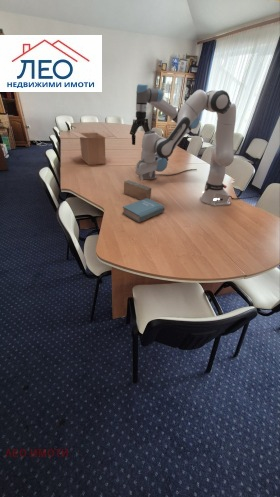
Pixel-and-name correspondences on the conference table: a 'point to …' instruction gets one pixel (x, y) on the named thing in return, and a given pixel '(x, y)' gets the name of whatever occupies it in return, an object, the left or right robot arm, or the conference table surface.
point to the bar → (137, 190)
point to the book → (142, 209)
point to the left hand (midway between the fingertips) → (139, 143)
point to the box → (92, 146)
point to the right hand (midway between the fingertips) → (145, 178)
